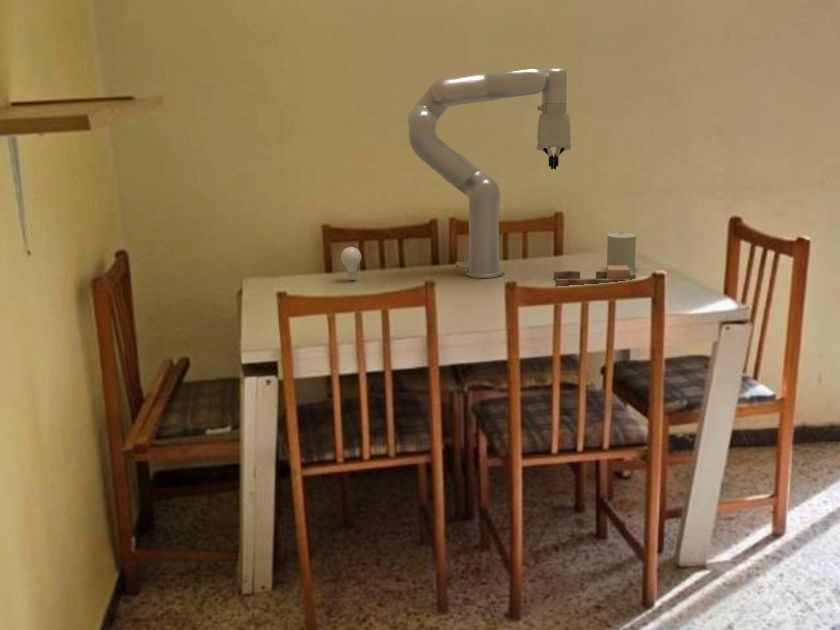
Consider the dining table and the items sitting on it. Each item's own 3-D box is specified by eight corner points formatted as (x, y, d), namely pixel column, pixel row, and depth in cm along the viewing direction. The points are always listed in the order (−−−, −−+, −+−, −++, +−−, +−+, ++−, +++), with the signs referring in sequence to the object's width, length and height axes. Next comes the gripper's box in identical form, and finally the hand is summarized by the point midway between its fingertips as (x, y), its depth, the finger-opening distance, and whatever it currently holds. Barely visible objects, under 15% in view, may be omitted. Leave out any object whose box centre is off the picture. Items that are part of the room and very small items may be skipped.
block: (608, 286, 270) (608, 269, 269) (606, 281, 276) (606, 265, 275) (628, 286, 270) (629, 269, 268) (626, 281, 275) (626, 265, 274)
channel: (555, 288, 269) (555, 275, 268) (553, 278, 280) (554, 266, 279) (635, 287, 267) (635, 274, 265) (630, 278, 278) (630, 265, 277)
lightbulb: (358, 283, 282) (357, 249, 279) (339, 282, 284) (337, 248, 281) (364, 278, 288) (363, 245, 285) (345, 278, 290) (344, 244, 287)
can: (633, 266, 294) (634, 230, 290) (637, 273, 285) (638, 235, 281) (604, 266, 295) (605, 230, 291) (607, 273, 286) (608, 236, 282)
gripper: (530, 110, 274) (529, 170, 279) (579, 109, 273) (578, 169, 278) (529, 109, 281) (529, 167, 286) (577, 108, 280) (576, 167, 285)
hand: (553, 168), depth 282 cm, fingers closed
